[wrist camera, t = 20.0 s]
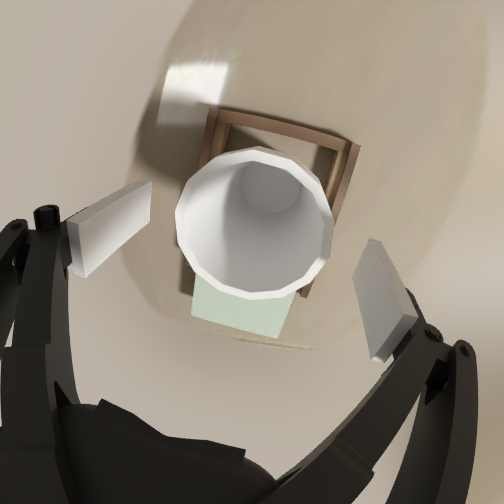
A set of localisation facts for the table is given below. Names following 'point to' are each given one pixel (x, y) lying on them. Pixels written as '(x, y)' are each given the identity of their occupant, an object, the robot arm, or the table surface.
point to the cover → (240, 309)
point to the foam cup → (255, 223)
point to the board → (344, 149)
